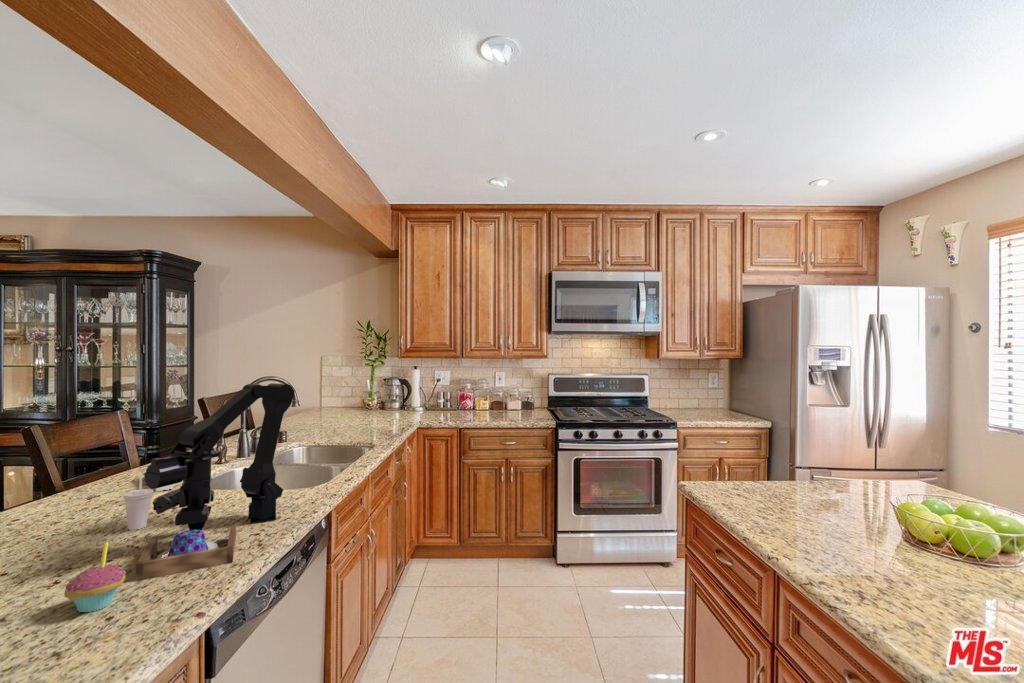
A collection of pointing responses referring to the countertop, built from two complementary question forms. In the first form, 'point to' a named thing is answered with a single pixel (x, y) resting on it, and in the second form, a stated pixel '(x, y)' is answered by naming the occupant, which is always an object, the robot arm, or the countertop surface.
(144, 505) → the smoothie
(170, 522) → the countertop surface
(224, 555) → the bay
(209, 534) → the countertop surface
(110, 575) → the cupcake
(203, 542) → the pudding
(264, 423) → the robot arm
